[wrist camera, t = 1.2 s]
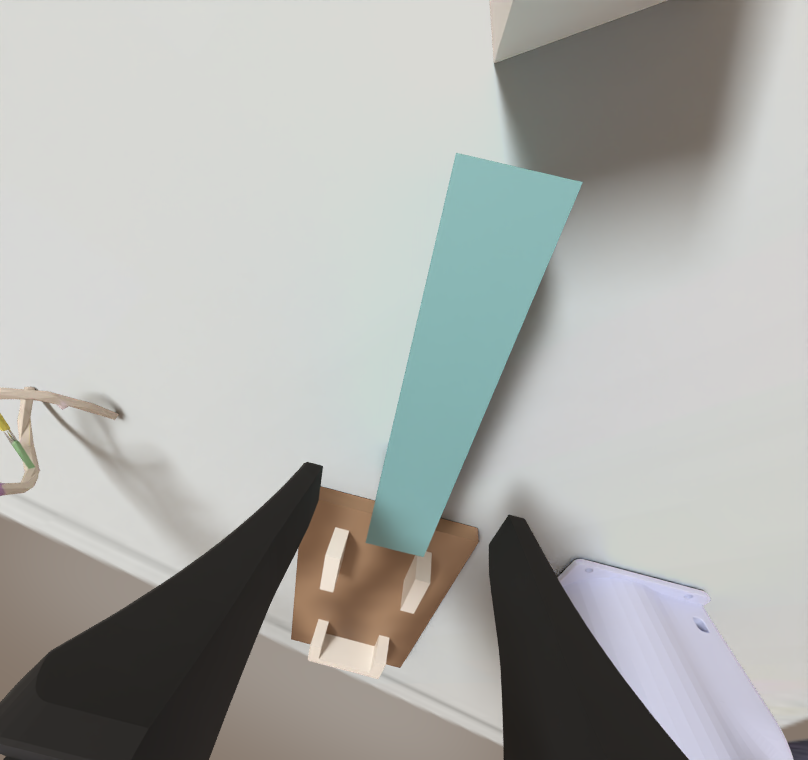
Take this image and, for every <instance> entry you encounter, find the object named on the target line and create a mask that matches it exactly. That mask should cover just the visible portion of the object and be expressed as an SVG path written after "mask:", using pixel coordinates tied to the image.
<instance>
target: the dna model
mask: <svg viewBox="0 0 808 760" xmlns="http://www.w3.org/2000/svg"><path fill="white" fill-rule="evenodd" d="M0 399H21V402H20V410H19V415H18V420H17V422H18V431H19V441H17V439H16V438H15V436H14V435H13V433H12V432H11V430H10V427H9V426H8V424H7V423H6V421H5V420H4V418H3V417H2V415H1V414H0V430H1V431H3V432H4V431H5V430H6V431H7V430H9V432H10V433H11V435H12V436H13V437H12V436H11V435H10V434H9V433H8V434H9V436H10V437H11V439H12V440H11V439H10V438H9V437H8V436H7V435H6V433H5V432H4V433H5V435H6V437H7V438H8V440H9V441H10V443H11V444H12V446H13V447H14V449H15V450H16V452H17V453H18V454H19V456H20V457H21V459H22V460H23V465H24V470H25V473H24V476H23V478H22V481H21V483H0V496H2V495H9V494H18V493H25V492H26V491H28V490H29V489H31V488H33V487H34V485H35V483H36V481H37V479H38V474H39V471H40V469H39V465H38V461H37V457H36V452H35V448H34V443H33V435H32V427H31V420H30V416H31V410H32V404H33V400H37V401H42V402H48V403H53V404H56V405H58V406H59V407H60V408H61V409H62V410H63V409H65V408H66V407H68V406H71V407H74V408H77V409H81V410H84V411H87V412H91V413H94V414H97V415H101V416H104V417H107V418H111V419H114V420H115V419H116V418H117V416H118V415H119V414H117V413H115V412H112V411H110V410H107V409H105V408H103V407H100V406H98V405H95V404H92V403H89V402H85V401H81V400H78V399H74V398H70V397H67V396H63V395H59V394H56V393H52V392H48V391H37V390H35V388H33V387H24V389H11V388H0ZM13 438H14V439H15V440H14V439H13Z"/></svg>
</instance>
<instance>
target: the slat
mask: <svg viewBox="0 0 808 760" xmlns="http://www.w3.org/2000/svg"><path fill="white" fill-rule="evenodd" d="M582 183H583V182H580V181H575V180H571V179H567V178H562V177H558V176H554V175H550V174H545V173H541V172H537V171H532V170H528V169H524V168H519V167H515V166H511V165H506V164H502V163H498V162H494V161H489V160H485V159H481V158H476V157H472V156H468V155H463V154H459V153H456V156H455V160H454V164H453V169H452V173H451V177H450V182H449V186H448V190H447V194H446V199H445V203H444V207H443V212H442V216H441V220H440V225H439V229H438V233H437V237H436V242H435V246H434V250H433V255H432V259H431V263H430V268H429V272H428V276H427V280H426V285H425V289H424V293H423V298H422V302H421V306H420V311H419V315H418V319H417V323H416V328H415V332H414V336H413V341H412V345H411V349H410V353H409V358H408V362H407V366H406V371H405V375H404V379H403V384H402V388H401V392H400V396H399V401H398V405H397V409H396V414H395V418H394V422H393V427H392V431H391V435H390V439H389V444H388V448H387V452H386V457H385V461H384V465H383V470H382V474H381V478H380V482H379V487H378V491H377V495H376V500H375V504H374V508H373V513H372V517H371V521H370V525H369V530H368V534H367V538H366V543H368V544H372V545H376V546H380V547H384V548H388V549H392V550H396V551H400V552H405V553H409V554H413V555H417V556H421V557H424V555H425V553H426V550H427V548H428V546H429V543H430V541H431V539H432V536H433V534H434V532H435V529H436V527H437V525H438V522H439V520H440V517H441V515H442V513H443V510H444V508H445V506H446V503H447V501H448V499H449V496H450V494H451V492H452V489H453V487H454V484H455V482H456V480H457V477H458V475H459V473H460V470H461V468H462V466H463V463H464V461H465V459H466V456H467V454H468V451H469V449H470V447H471V444H472V442H473V440H474V437H475V435H476V433H477V430H478V428H479V426H480V423H481V421H482V419H483V416H484V414H485V411H486V409H487V407H488V404H489V402H490V400H491V397H492V395H493V393H494V390H495V388H496V386H497V383H498V381H499V378H500V376H501V374H502V371H503V369H504V367H505V364H506V362H507V360H508V357H509V355H510V353H511V350H512V348H513V345H514V343H515V341H516V338H517V336H518V334H519V331H520V329H521V327H522V324H523V322H524V320H525V317H526V315H527V313H528V310H529V308H530V305H531V303H532V301H533V298H534V296H535V294H536V291H537V289H538V287H539V284H540V282H541V280H542V277H543V275H544V272H545V270H546V268H547V265H548V263H549V261H550V258H551V256H552V254H553V251H554V249H555V247H556V244H557V242H558V240H559V237H560V235H561V232H562V230H563V228H564V225H565V223H566V221H567V218H568V216H569V214H570V211H571V209H572V207H573V204H574V202H575V199H576V197H577V195H578V192H579V190H580V188H581V185H582Z"/></svg>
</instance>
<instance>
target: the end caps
mask: <svg viewBox="0 0 808 760" xmlns="http://www.w3.org/2000/svg"><path fill="white" fill-rule="evenodd" d="M348 534H349V531H348V530H344V529H340V528H337V527H335V530H334V532H333V535H332V538H331V541H330V544H329V546H328V549H327V552H326V555H325V560H324V566H323V572H322V578H321V584H320V589H321V590H325V591H329V592H333V591H334V588H335V585H336V581H337V578H338V575H339V571H340V568H341V565H342V561H343V556H344V552H345V547H346V543H347V538H348ZM431 559H432V553H431V552H427V551H426V553H425V555H424V557H421V556H417V555H415V557H414V559H413V561H412V564H411V566H410V568H409V570H408V573H407V575H406V577H405V579H404V583H403V592H402V600H401V608H400V610H401V611H405V612H408V613H412V614H414V612H415V610H416V609H417V607H418V605H419V603H420V601H421V599H422V598H423V596H424V594H425V592H426V590H427V588H428V587H429V585H430V579H431ZM328 623H329V622H328V621H324V620H321V619H318V623H317V626H316V629H315V632H314V635H313V638H312V642H311V645H310V650H309V656H308V661H312V662H316V663H320V664H323V665H327V666H331V667H335V668H338V669H342V670H346V671H350V672H354V673H357V674H361V675H365V676H369V677H373V678H376V679H378V678H379V677H380V675H381V673H382V671H383V669H384V667H385V665H386V659H387V652H388V645H389V637H385V636H381V635H379V637H378V639H377V641H376V644H375V646H372V645H368V644H364V643H360V642H356V641H353V640H349V639H345V638H341V637H338V636H334V635H330V634H326V632H327V627H328Z"/></svg>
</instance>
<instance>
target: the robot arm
mask: <svg viewBox="0 0 808 760" xmlns="http://www.w3.org/2000/svg"><path fill="white" fill-rule="evenodd" d="M322 469H323V466H321V465H317V464H313V463H309V462H306V463H304V464H303V465H302V466H301V468H300V469H299V470H298V471H297V472H296V473H295V474H294V475H293V476H292V477H291V478H290V480H289V481H288V482H287V483H286V484H285V485H284V486H283V487H282V488H281V489H280V490H279V491H278V492H277V493H276V494H275V495H274V496H272V497H271V498H270V499H269V500H268V501H267V502H266V503H265V504H264V505H263V506H262V507H261V508H260V509H259V510H258V511H256V512H255V513H254V514H253V515H252V516H251V517H249V518H248V519H247V520H246V521H245V522H244V523H243V524H241V525H240V526H239V527H238V528H237V529H236V530H234V531H233V532H232V533H231V534H229V535H228V536H227V537H226V538H224V539H223V540H222V541H221V542H219V543H218V544H217V545H215V546H214V547H213V548H211V549H210V550H209V551H208V552H206V553H205V554H204V555H202V556H201V557H199V558H198V559H197V560H195V561H194V562H192V563H191V564H190V565H188V566H187V567H185V568H184V569H183V570H181V571H180V572H178V573H177V574H176V575H174V576H173V577H171V578H170V579H168V580H167V581H165V582H164V583H162V584H161V585H159V586H158V587H156V588H154V589H153V590H151V591H150V592H148V593H147V594H145V595H143V596H142V597H140V598H139V599H137V600H136V601H134V602H133V603H131V604H129V605H128V606H127V607H125V608H123V609H122V610H120V611H118V612H117V613H115V614H113V615H112V616H110V617H108V618H107V619H105V620H103V621H102V622H100V623H98V624H96V625H94V626H93V627H91V628H89V629H88V630H86V631H84V632H82V633H81V634H79V635H77V636H75V637H74V638H72V639H70V640H69V641H67V642H65V643H63V644H62V645H60V646H58V647H56V648H55V649H53V650H52V651H50V652H49V653H48V654H47V655H46V656H45V657H44V658H43V659H42V660H41V661H40V662H39V663H38V664H37V665H36V666H35V667H34V668H33V669H32V670H31V671H29V672H28V673H27V674H26V675H25V676H24V677H23V678H22V679H21V680H20V681H19V682H18V683H17V685H15V687H14V688H13V689H12V690H11V691H10V692H9V693H8V694H7V695H6V697H5V698H4V699H3V700H2V701H1V702H0V754H2V755H5V756H6V757H5V758H4V760H209V758H210V755H211V753H212V750H213V747H214V745H215V742H216V739H217V736H218V734H219V731H220V729H221V726H222V724H223V721H224V718H225V715H226V713H227V711H228V708H229V705H230V702H231V700H232V698H233V695H234V693H235V690H236V688H237V685H238V682H239V680H240V677H241V675H242V672H243V670H244V667H245V665H246V662H247V659H248V657H249V655H250V652H251V650H252V647H253V645H254V642H255V640H256V637H257V635H258V633H259V630H260V628H261V625H262V623H263V620H264V618H265V616H266V613H267V611H268V608H269V606H270V604H271V601H272V599H273V597H274V595H275V593H276V591H277V589H278V587H279V585H280V583H281V581H282V579H283V577H284V575H285V573H286V571H287V569H288V567H289V565H290V563H291V561H292V559H293V557H294V555H295V553H296V551H297V549H298V547H299V545H300V543H301V541H302V539H303V537H304V535H305V533H306V531H307V529H308V527H309V524H310V522H311V519H312V517H313V514H314V511H315V509H316V506H317V504H318V501H319V494H320V486H321V477H322ZM489 577H490V585H491V593H492V601H493V608H494V616H495V623H496V631H497V638H498V646H499V655H500V666H501V686H502V708H503V740H504V760H793V756H792V753H791V751H790V748H789V746H788V743H787V740H786V738H785V737H784V734H783V732H782V730H781V728H780V726H779V725H778V723H777V721H776V720H775V718H774V716H773V715H772V713H771V712H770V710H769V709H768V707H767V705H766V704H765V702H764V701H763V699H762V698H761V696H760V694H759V693H758V691H757V690H756V688H755V687H754V685H753V684H752V682H751V680H750V679H749V677H748V676H747V674H746V673H745V671H744V670H743V668H742V666H741V665H740V663H739V662H738V660H737V659H736V657H735V655H734V654H733V652H732V651H731V649H730V648H729V646H728V645H727V643H726V641H725V640H724V638H723V637H722V635H721V634H720V632H719V631H718V629H717V627H716V626H715V624H714V623H713V621H712V620H711V618H710V616H709V615H708V613H707V612H706V610H705V609H704V607H703V606H704V605H705V604H707V603H708V602H710V601H711V598H710V597H709V595H708V594H707V592H704V591H702V590H698V589H694V588H690V587H686V586H683V585H679V584H675V583H671V582H668V581H664V580H660V579H656V578H652V577H649V576H645V575H641V574H637V573H634V572H630V571H626V570H622V569H618V568H615V567H611V566H607V565H603V564H600V563H596V562H592V561H588V560H585V559H576V560H574V561H573V562H572V563H571V564H570V565H569V566H568V567H567V568H566V569H565V570H564V571H563V572H562V573H561V574H560V576H559V577H558V578H557V576H556V575H555V573H554V571H553V569H552V568H551V566H550V564H549V562H548V560H547V559H546V557H545V555H544V553H543V551H542V550H541V548H540V546H539V544H538V542H537V540H536V539H535V537H534V535H533V533H532V531H531V529H530V528H529V526H528V524H527V522H526V520H525V519H524V518H520V517H516V516H512V515H508V517H507V518H506V520H505V521H504V523H503V524H502V526H501V527H500V529H499V530H498V532H497V533H496V535H495V536H494V538H493V539H492V541H491V542H490V544H489Z"/></svg>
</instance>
